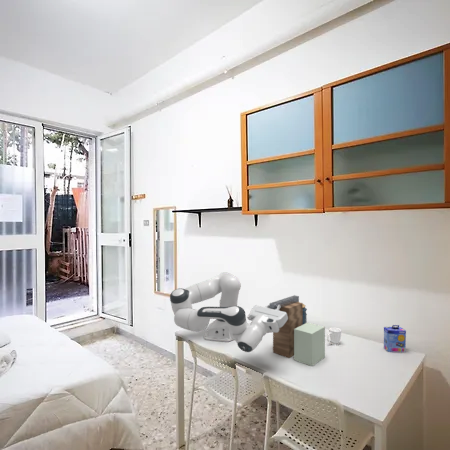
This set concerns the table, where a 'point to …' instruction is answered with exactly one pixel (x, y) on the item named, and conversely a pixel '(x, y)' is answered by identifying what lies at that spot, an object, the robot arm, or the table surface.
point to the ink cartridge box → (394, 339)
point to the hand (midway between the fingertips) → (275, 304)
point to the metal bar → (284, 302)
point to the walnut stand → (288, 330)
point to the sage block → (309, 343)
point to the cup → (334, 335)
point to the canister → (304, 314)
